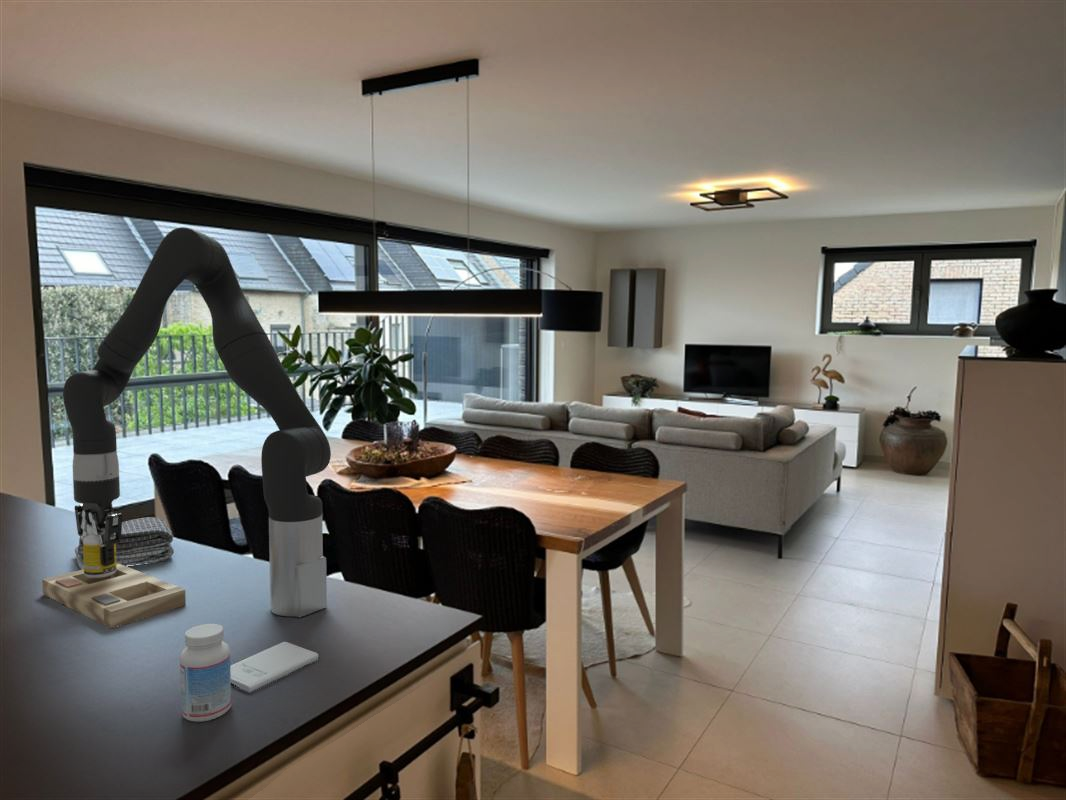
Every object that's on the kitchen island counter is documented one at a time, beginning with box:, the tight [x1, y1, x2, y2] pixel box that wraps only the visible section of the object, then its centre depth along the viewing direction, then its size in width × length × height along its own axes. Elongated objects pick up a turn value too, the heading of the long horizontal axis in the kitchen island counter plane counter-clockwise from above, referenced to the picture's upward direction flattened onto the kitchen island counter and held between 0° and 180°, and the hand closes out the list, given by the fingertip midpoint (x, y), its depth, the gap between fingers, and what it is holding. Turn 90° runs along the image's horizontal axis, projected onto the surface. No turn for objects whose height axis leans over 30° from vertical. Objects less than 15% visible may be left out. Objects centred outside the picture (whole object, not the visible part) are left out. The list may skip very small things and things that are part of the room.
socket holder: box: [41, 563, 187, 629], centre depth 134 cm, size 26×13×3 cm, turn 56°
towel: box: [74, 516, 175, 570], centre depth 158 cm, size 15×18×8 cm
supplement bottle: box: [83, 525, 116, 578], centre depth 138 cm, size 5×5×10 cm
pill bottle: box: [179, 623, 233, 723], centre depth 96 cm, size 6×6×11 cm
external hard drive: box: [230, 641, 319, 690], centre depth 108 cm, size 2×8×12 cm
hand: (99, 561), depth 138 cm, fingers closed on supplement bottle, 5 cm apart
